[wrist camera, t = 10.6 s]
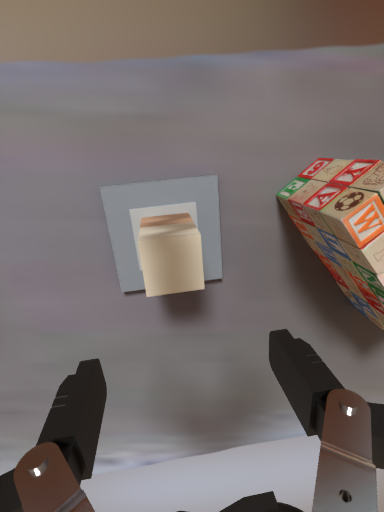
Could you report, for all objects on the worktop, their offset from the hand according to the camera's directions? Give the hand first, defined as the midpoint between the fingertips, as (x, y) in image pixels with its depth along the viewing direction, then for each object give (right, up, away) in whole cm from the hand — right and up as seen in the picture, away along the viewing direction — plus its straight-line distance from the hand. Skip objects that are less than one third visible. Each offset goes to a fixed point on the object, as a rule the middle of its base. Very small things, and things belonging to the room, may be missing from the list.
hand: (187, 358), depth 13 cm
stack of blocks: (+19, +7, +22) cm, 30 cm away
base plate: (-3, +7, +18) cm, 20 cm away
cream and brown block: (-2, +7, +17) cm, 19 cm away
